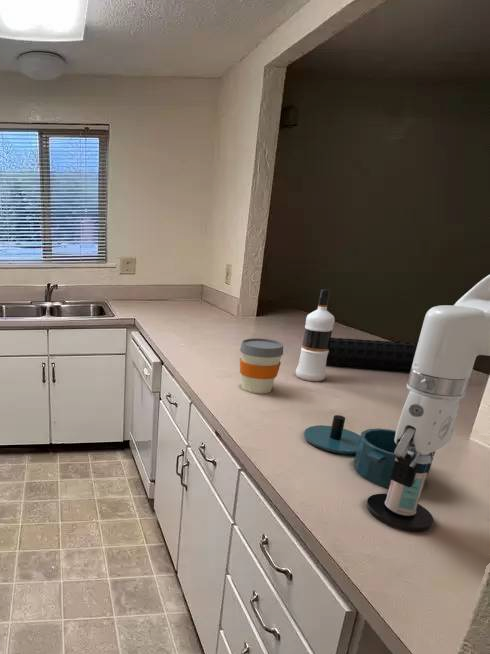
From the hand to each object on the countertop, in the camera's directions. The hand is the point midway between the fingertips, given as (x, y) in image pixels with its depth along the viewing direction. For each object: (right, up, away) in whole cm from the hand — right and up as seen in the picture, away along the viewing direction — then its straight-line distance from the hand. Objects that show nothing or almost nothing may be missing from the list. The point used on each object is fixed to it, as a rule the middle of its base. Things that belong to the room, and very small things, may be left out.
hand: (408, 477), depth 77 cm
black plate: (0, -7, +3) cm, 8 cm away
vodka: (+20, +18, +72) cm, 77 cm away
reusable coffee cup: (-2, +15, +63) cm, 64 cm away
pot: (+7, -3, +15) cm, 17 cm away
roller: (+43, +22, +83) cm, 96 cm away
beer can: (0, -7, +2) cm, 7 cm away
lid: (+3, +3, +28) cm, 29 cm away
